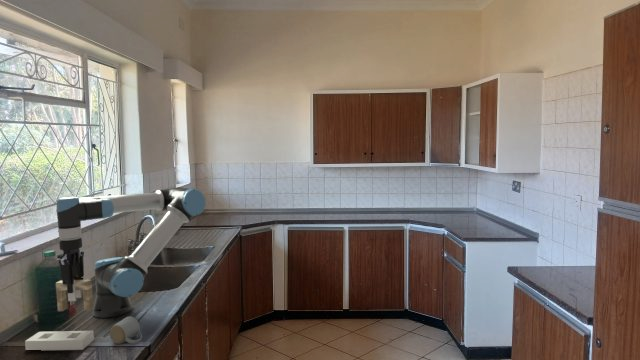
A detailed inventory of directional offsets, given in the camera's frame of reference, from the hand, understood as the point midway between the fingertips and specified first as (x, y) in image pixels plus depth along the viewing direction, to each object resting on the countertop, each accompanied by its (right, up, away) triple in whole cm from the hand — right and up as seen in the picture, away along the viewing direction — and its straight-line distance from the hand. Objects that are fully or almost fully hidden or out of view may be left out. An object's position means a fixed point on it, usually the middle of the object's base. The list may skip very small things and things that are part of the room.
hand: (75, 298), depth 172 cm
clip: (0, -4, 0) cm, 4 cm away
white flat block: (0, -14, -10) cm, 17 cm away
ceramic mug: (+23, -14, -7) cm, 28 cm away
